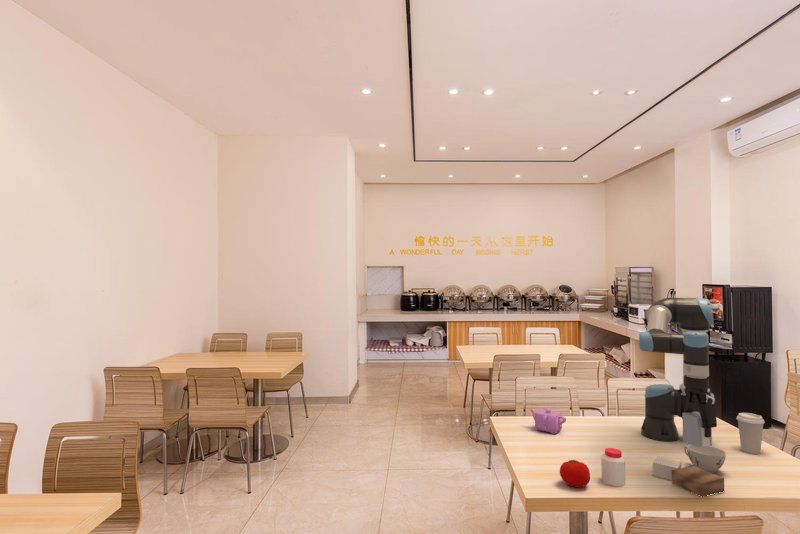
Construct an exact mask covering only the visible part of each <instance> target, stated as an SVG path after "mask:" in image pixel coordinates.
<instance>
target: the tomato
mask: <svg viewBox="0 0 800 534" xmlns="http://www.w3.org/2000/svg"><path fill="white" fill-rule="evenodd" d="M559 475H560V477H561V480H562V481H563V482H564V483H565V484H566V485H569V486H571V487H573V488H582V487H586V486H587V485H588V484H589V482H591V472H590V468H589V467H588V465H587V464H585V463H584V462H582V461H581V462H580V461H578V460H576V459H570V460H568V461H564V462H563V463H562V464H561V465H560V468H559Z"/></svg>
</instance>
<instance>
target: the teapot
mask: <svg viewBox="0 0 800 534" xmlns="http://www.w3.org/2000/svg"><path fill="white" fill-rule="evenodd" d="M528 410H529V411H530V412H531V413H532V419H533V420H534V422H535V423H534V429H535V430H536V431H539V432H541V431H542V433H543V431H544V432H546V433H549V434H551V435H554V434H557V433H559V432H560V431H561V430H562V429H563V426H562V425H563V424H564V423H566V421H567V418H566V417H565V416H563V415H562V414H563V412H560V411H555V410H551V409H550V408H546V409H543V408H540V409H539V410H537V411H535V410H534V409H533V408H528Z"/></svg>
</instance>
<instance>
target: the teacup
mask: <svg viewBox="0 0 800 534" xmlns="http://www.w3.org/2000/svg"><path fill="white" fill-rule="evenodd" d="M683 450H684V453H685V455H686V457H688V460H689V461H690V462H691V464H692V466H695V467H698V468H700V469H703V470H705V471H707V472H710V473H712V474H715V473H716V472H717V471H719V470H720V469H721V468H722V467H723V465H724V464H725V461H726V457H727V453H726V452H725V451H724V450H723V449H721V448H719V447H715V446H706V447H696V446H694V445H691V444H689V443H688V444H686V445H684V447H683Z"/></svg>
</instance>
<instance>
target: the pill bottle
mask: <svg viewBox="0 0 800 534" xmlns="http://www.w3.org/2000/svg"><path fill="white" fill-rule="evenodd" d="M601 481H602V482H603V483H604V484H606V485H609V486H613V487H624V486H625V485H626V459H625V457H624V456H623V453H622V451H621V450H620V449H618V448H613V447H607V448H605V449H604V453H603V454H602V455H601Z"/></svg>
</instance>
